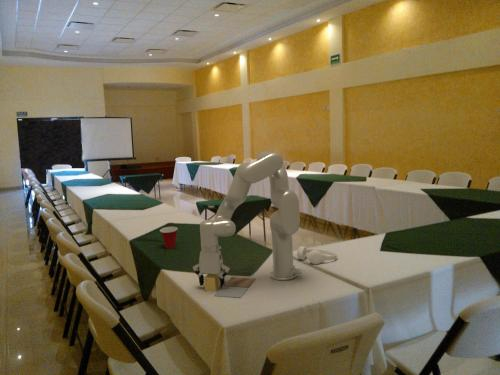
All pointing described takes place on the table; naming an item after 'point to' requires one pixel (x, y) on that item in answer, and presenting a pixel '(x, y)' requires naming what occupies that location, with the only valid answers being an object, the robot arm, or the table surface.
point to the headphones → (315, 255)
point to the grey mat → (231, 292)
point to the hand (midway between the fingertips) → (212, 285)
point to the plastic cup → (169, 236)
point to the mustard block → (211, 282)
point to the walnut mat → (240, 282)
